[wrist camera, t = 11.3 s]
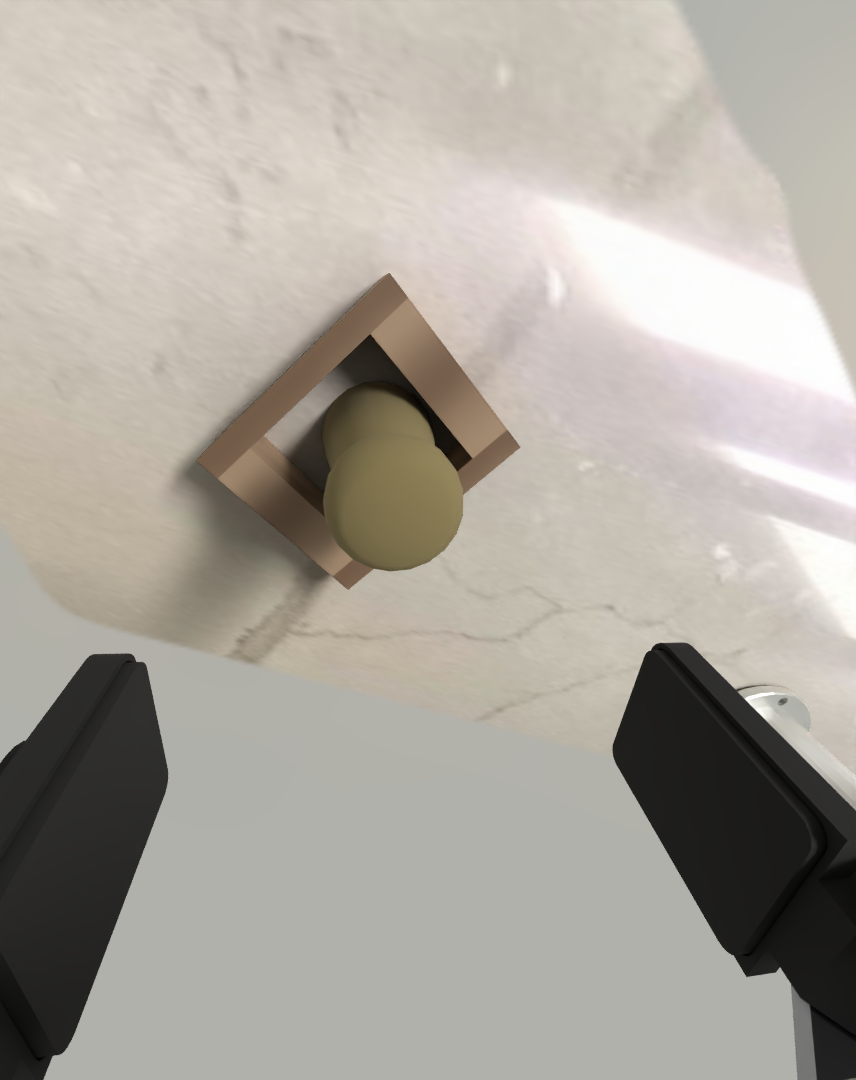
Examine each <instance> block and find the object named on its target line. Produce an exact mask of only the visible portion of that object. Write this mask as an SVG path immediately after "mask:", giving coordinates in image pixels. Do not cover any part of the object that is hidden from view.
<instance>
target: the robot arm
mask: <svg viewBox="0 0 856 1080" xmlns="http://www.w3.org/2000/svg"><path fill="white" fill-rule="evenodd" d="M810 724H811V715H810V711H809V709H808V706H807V705H806V704H805V703H804V702H803V700H801V699H800V698H799V697H798V696H796V695H795V694H794V693H793V692H792V691H790V690H787V689H785V688H783V687H777V686H756V687H751V688H746V689H742V690H739V691H736V690H735V689H734V688H733V687H732V686H731V685H730V684H729V683H728V682H727V681H726V680H725V679H724V678H723V677H722V676H721V675H720V674H719V673H718V672H717V671H716V670H715V669H714V668H713V667H712V666H711V665H710V664H709V663H708V662H707V661H706V660H705V659H704V658H703V657H702V656H701V655H700V654H699V653H698V652H697V651H696V650H695V649H694V648H693V647H692V646H691V645H689V644H687V643H658V644H656V645H655V646H653V648H652V650H651V651H648V652H647V653H646V655H645V657H644V660H643V662H642V665H641V668H640V671H639V673H638V676H637V679H636V682H635V685H634V687H633V690H632V693H631V696H630V699H629V701H628V704H627V707H626V710H625V712H624V715H623V718H622V721H621V724H620V726H619V729H618V732H617V735H616V738H615V740H614V743H613V757H614V760H615V762H616V764H617V766H618V768H619V769H620V771H621V773H622V775H623V777H624V778H625V780H626V782H627V784H628V785H629V787H630V789H631V790H632V792H633V794H634V796H635V797H636V799H637V801H638V803H639V804H640V806H641V808H642V809H643V811H644V813H645V815H646V816H647V818H648V820H649V822H650V823H651V825H652V827H653V828H654V830H655V832H656V834H657V835H658V837H659V839H660V841H661V842H662V844H663V846H664V848H665V849H666V851H667V853H668V854H669V856H670V858H671V860H672V861H673V863H674V865H675V867H676V868H677V870H678V872H679V874H680V875H681V877H682V879H683V880H684V882H685V884H686V886H687V887H688V889H689V891H690V893H691V894H692V896H693V898H694V900H695V901H696V903H697V905H698V906H699V908H700V910H701V912H702V913H703V915H704V917H705V919H706V920H707V922H708V924H709V925H710V927H711V929H712V931H713V932H714V934H715V936H716V938H717V939H718V941H719V942H720V944H721V945H722V947H723V948H724V949H725V950H726V951H727V952H728V953H730V954H731V955H734V957H735V958H736V960H737V962H738V963H739V965H740V967H741V968H742V970H743V972H744V973H745V975H746V977H749V976H755V975H762V974H768V973H775V972H776V971H777V970H778V969H779V967H781V969H782V971H783V972H784V974H785V975H786V977H787V978H788V980H789V981H790V983H791V990H792V1004H793V1019H794V1035H795V1047H796V1048H795V1049H796V1063H797V1078H798V1080H856V776H855V775H854V774H853V773H852V772H851V771H850V770H848V769H847V768H846V767H845V766H844V765H843V764H842V763H841V762H840V761H839V760H838V759H837V758H836V757H835V756H834V755H832V754H831V753H830V752H829V751H828V750H827V749H826V748H825V747H824V746H823V745H822V744H821V743H820V742H819V741H817V740H816V739H815V738H814V737H813V736H812V735H811V734H810V733H809V728H810ZM167 782H168V768H167V764H166V758H165V754H164V749H163V744H162V739H161V735H160V729H159V725H158V720H157V716H156V710H155V705H154V700H153V695H152V690H151V686H150V681H149V676H148V671H147V667H146V665H145V663H143V662H136V660H135V657H134V656H133V655H132V654H93V655H91V656H89V657H88V658H87V659H86V661H85V662H84V663H83V664H82V666H81V667H80V669H79V670H78V671H77V672H76V674H75V675H74V676H73V678H72V679H71V680H70V682H69V683H68V685H67V686H66V687H65V689H64V690H63V691H62V693H61V694H60V696H59V697H58V698H57V700H56V701H55V702H54V704H53V705H52V706H51V708H50V709H49V710H48V712H47V713H46V714H45V716H44V717H43V718H42V720H41V721H40V722H39V724H38V725H37V726H36V728H35V729H34V731H33V732H32V733H31V734H30V736H29V737H28V739H27V740H26V741H23V742H21V743H20V744H18V745H16V746H15V747H14V748H13V749H12V750H11V751H10V752H9V753H8V754H7V755H6V756H5V758H4V759H3V760H2V762H1V763H0V1080H43V1079H44V1076H45V1074H46V1071H47V1068H48V1066H49V1064H50V1061H51V1058H52V1056H54V1055H60V1054H62V1053H63V1052H64V1051H65V1050H66V1048H67V1047H68V1045H69V1043H70V1042H71V1040H72V1037H73V1035H74V1033H75V1030H76V1028H77V1025H78V1023H79V1020H80V1018H81V1015H82V1012H83V1010H84V1007H85V1004H86V1001H87V999H88V996H89V994H90V991H91V988H92V986H93V983H94V980H95V978H96V975H97V972H98V969H99V967H100V964H101V962H102V959H103V957H104V954H105V951H106V949H107V946H108V943H109V941H110V938H111V935H112V933H113V930H114V927H115V924H116V922H117V919H118V917H119V914H120V911H121V909H122V906H123V903H124V901H125V898H126V896H127V893H128V890H129V888H130V885H131V882H132V880H133V877H134V874H135V872H136V869H137V866H138V864H139V861H140V858H141V856H142V853H143V850H144V848H145V845H146V842H147V840H148V837H149V835H150V832H151V829H152V827H153V824H154V821H155V819H156V816H157V813H158V811H159V808H160V805H161V803H162V800H163V797H164V795H165V792H166V788H167Z"/></svg>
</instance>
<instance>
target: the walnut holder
mask: <svg viewBox="0 0 856 1080" xmlns="http://www.w3.org/2000/svg"><path fill="white" fill-rule="evenodd" d="M370 334H371V335H372V337H373V338H374V339H375V340H376V341H377V343H378V344H379V345H380V346H381V348H382V349H383V350H384V351H385V352H386V354H387V355H388V356H389V357H390V358H391V360H392V361H393V362H394V363H395V365H396V366H397V367H398V368H399V369H400V371H401V372H402V373H403V374H404V375H405V377H406V378H407V379H408V380H409V382H410V383H411V384H412V385H413V386H414V388H415V389H416V390H417V391H418V392H419V394H420V395H421V396H422V397H423V399H424V400H425V401H426V402H427V403H428V405H429V406H430V407H431V408H432V409H433V411H434V412H435V413H436V414H437V416H438V417H439V418H440V419H441V420H442V422H443V423H444V424H445V425H446V427H447V428H448V429H449V430H450V431H451V433H452V434H453V435H454V436H455V437H456V439H457V440H458V441H459V442H460V443H459V444H458V445H457V446H456V447H455V448H453V449H452V450H451V451H450V452H449V453H448V454H446V455H445V456H446V458H447V459H448V460H449V461H450V463H451V464H452V465H453V466H454V468H455V469H456V471H457V474H458V477H459V480H460V483H461V485H462V488H463V494H464V493H466V492H467V491H468V490H469V489H470V488H472V487H473V486H474V485H475V484H477V483H478V482H479V481H480V480H481V479H483V478H484V477H485V476H486V475H487V474H489V473H490V472H491V471H492V470H493V469H495V468H496V467H497V466H498V465H500V464H501V463H502V462H503V461H504V460H506V459H507V458H508V457H509V456H510V455H512V454H513V453H514V452H515V451H516V450H518V449H519V448H520V446H519V445H518V443H517V442H516V441H515V439H514V438H513V437H512V435H511V434H510V433H509V431H508V430H507V429H506V427H505V426H504V425H503V423H502V422H501V421H500V419H499V418H498V417H497V415H496V414H495V413H494V411H493V410H492V409H491V407H490V406H489V405H488V403H487V402H486V401H485V399H484V398H483V397H482V395H481V394H480V393H479V391H478V390H477V389H476V387H475V386H474V385H473V383H472V382H471V381H470V379H469V378H468V377H467V375H466V374H465V373H464V371H463V370H462V369H461V367H460V366H459V365H458V363H457V362H456V361H455V359H454V358H453V357H452V355H451V354H450V353H449V351H448V350H447V349H446V347H445V346H444V345H443V343H442V342H441V341H440V339H439V338H438V337H437V335H436V334H435V333H434V331H433V330H432V329H431V327H430V326H429V325H428V323H427V322H426V321H425V319H424V318H423V317H422V315H421V314H420V313H419V311H418V310H417V309H416V307H415V306H414V305H413V304H412V302H411V301H410V300H409V298H408V297H407V296H406V294H405V293H404V292H403V290H402V289H401V288H400V286H399V285H398V284H397V282H396V281H395V280H394V278H393V277H392V276H391V274H390V273H389V274H387V275H385V276H384V277H383V278H381V279H380V280H379V281H378V282H377V283H376V284H375V285H374V286H373V287H372V288H371V289H370V290H369V291H368V292H367V293H366V294H365V295H364V296H363V297H362V298H361V299H360V300H359V301H358V302H357V303H356V304H355V305H354V306H353V307H352V308H351V309H350V310H349V311H348V312H347V313H345V314H344V315H343V316H342V317H341V318H340V319H339V320H338V321H337V322H336V323H335V324H334V325H333V326H332V327H331V328H330V329H329V330H328V331H327V332H326V333H325V334H324V335H323V336H322V337H321V338H320V339H319V340H318V341H317V342H316V343H315V344H314V345H313V346H312V347H311V348H309V349H308V350H307V351H306V352H305V353H304V354H303V355H302V356H301V357H300V358H299V359H298V360H297V361H296V362H295V363H294V364H293V365H292V366H291V367H290V368H289V369H288V370H287V371H286V372H285V373H284V374H283V375H282V376H281V377H280V378H279V379H278V380H277V381H276V382H275V383H273V384H272V385H271V386H270V387H269V388H268V389H267V390H266V391H265V392H264V393H263V394H262V395H261V396H260V397H259V398H258V399H257V400H256V401H255V402H254V403H253V404H252V405H251V406H250V407H249V408H248V409H247V410H246V411H245V412H244V413H243V414H242V415H241V416H240V417H239V418H237V419H236V420H235V421H234V422H233V423H232V424H231V425H230V426H229V427H228V428H227V429H226V430H225V431H224V432H223V433H222V434H221V435H220V436H219V437H218V438H217V439H216V440H215V441H214V442H213V443H212V444H211V445H210V446H209V447H208V448H207V449H206V450H205V452H204V453H203V454H202V455H201V456H200V457H199V458H198V459H197V460H196V461H197V462H198V463H199V464H200V465H202V466H203V467H204V468H205V469H206V470H208V471H209V472H210V473H211V474H212V475H213V476H215V477H216V478H217V479H218V480H219V481H220V482H222V483H223V484H224V485H225V486H226V487H228V488H229V489H230V490H231V491H232V492H233V493H235V494H236V495H237V496H238V497H239V498H241V499H242V500H243V501H244V502H245V503H246V504H248V505H249V506H250V507H251V508H252V509H253V510H255V511H256V512H257V513H258V514H259V515H261V516H262V517H263V518H264V519H265V520H266V521H268V522H269V523H270V524H271V525H272V526H273V527H275V528H276V529H277V530H278V531H279V532H281V533H282V534H283V535H284V536H285V537H286V538H288V539H289V540H290V541H291V542H292V543H294V544H295V545H296V546H297V547H298V548H299V549H301V550H302V551H303V552H304V553H305V554H306V555H308V556H309V557H310V558H311V559H312V560H314V561H315V562H316V563H317V564H318V565H319V566H321V567H322V568H323V569H324V570H325V571H327V572H328V573H329V574H330V575H331V576H332V577H334V578H335V579H336V580H337V581H338V582H339V583H341V584H342V585H343V586H344V587H345V588H347V589H350V588H351V587H352V586H353V585H354V584H356V583H357V582H358V581H359V580H360V579H362V578H363V577H364V576H365V575H367V574H368V573H369V572H370V571H371V570H373V569H374V568H369V567H367V566H365V565H363V564H361V563H359V562H357V561H355V560H353V559H352V558H351V557H350V556H349V555H347V554H346V553H345V552H344V551H343V550H342V549H341V548H340V547H339V546H338V545H337V543H336V541H335V539H334V537H333V535H332V533H331V532H330V530H329V528H328V526H327V524H326V521H325V514H324V507H323V497H324V493H323V492H322V491H321V490H320V489H319V488H318V487H317V486H316V485H315V484H314V483H313V482H312V481H311V480H310V479H308V478H307V477H306V476H305V475H304V474H303V473H302V472H301V471H300V470H299V469H298V468H297V467H296V466H295V465H294V464H293V463H292V462H290V461H289V460H288V459H287V458H286V457H285V456H284V455H283V454H282V453H281V452H280V451H279V450H278V449H277V448H276V447H275V446H274V445H272V444H271V443H270V442H269V441H268V440H267V439H266V438H265V437H264V436H263V435H264V434H265V433H266V432H267V431H268V430H270V429H271V428H272V427H273V426H274V425H275V424H276V423H277V422H278V421H279V420H280V419H281V418H282V417H283V416H284V415H285V414H286V413H287V412H288V411H290V410H291V409H292V408H293V407H294V406H295V405H296V404H297V403H298V402H299V401H300V400H301V399H302V398H303V397H304V396H305V395H306V394H307V393H308V392H310V391H311V390H312V389H313V388H314V387H315V386H316V385H317V384H318V383H319V382H320V381H321V380H322V379H323V378H324V377H325V376H326V375H327V374H328V373H330V372H331V371H332V370H333V369H334V368H335V367H336V366H337V365H338V364H339V363H340V362H341V361H342V360H343V359H344V358H345V357H346V356H347V355H349V354H350V353H351V352H352V351H353V350H354V349H355V348H356V347H357V346H358V345H359V344H360V343H361V342H362V341H363V340H364V339H365V338H366V337H367V336H369V335H370Z"/></svg>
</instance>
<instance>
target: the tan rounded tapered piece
mask: <svg viewBox="0 0 856 1080" xmlns="http://www.w3.org/2000/svg"><path fill="white" fill-rule="evenodd" d="M322 440H323V448H324V453H325V456H326V458H327V461H328V464H329V467H330V470H331V471H330V473H329V474H328V478H327V482H326V487H325V492H324V497H323V507H324V514H325V521H326V524H327V526H328V528H329V530H330V532H331V533H332V535H333V537H334V539H335V541H336V543H337V545H338V546H339V547H340V548H341V549H342V550H343V551H344V552H345V553H346V554H347V555H349V556H350V557H351V558H352V559H353V560H355V561H357V562H359V563H361V564H363V565H365V566H367V567H369V568H374V569H380V570H386V571H398V570H407V569H412V568H414V567H417V566H420V565H422V564H425V563H427V562H429V561H431V560H432V559H433V558H434V557H436V556H437V555H438V554H440V553H441V552H442V551H444V550H445V549H446V547H447V546H448V545H449V543H450V542H451V541H452V539H453V538H454V536H455V535H456V534H457V531H458V528H459V525H460V522H461V519H462V516H463V488H462V485H461V483H460V480H459V477H458V474H457V471H456V469H455V468H454V466H453V465H452V464H451V463H450V461H449V460H448V459H447V458H446V456H445V455H444V454H443V452H442V451H441V450H440V449H439V448H437V447H436V446H435V441H434V434H433V427H432V424H431V421H430V418H429V416H428V413H427V410H426V409H425V408H424V406H423V405H422V404H421V402H420V401H419V400H418V398H417V397H416V396H415V395H413V394H412V393H410V392H409V391H407V390H406V389H404V388H403V387H401V386H398V385H395V384H391V383H387V382H384V381H381V382H365V383H362V384H360V385H357V386H355V387H352V388H350V389H348V390H346V391H345V392H344V393H343V394H342V395H341V396H340V397H338V398H337V399H336V400H335V401H334V402H333V404H332V406H331V407H330V409H329V411H328V413H327V414H326V416H325V420H324V425H323V430H322Z"/></svg>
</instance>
